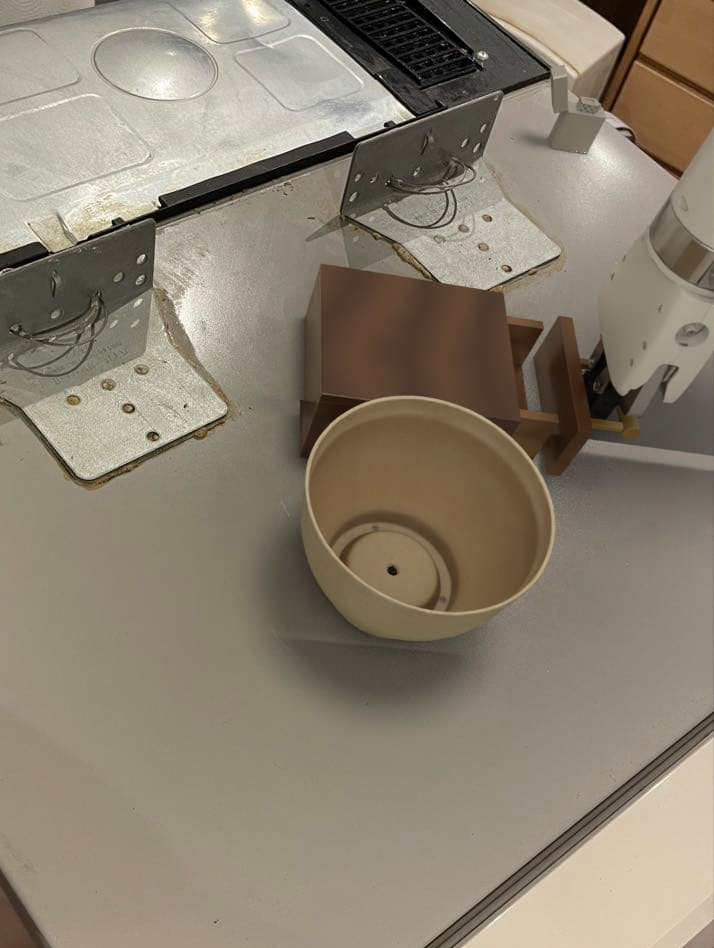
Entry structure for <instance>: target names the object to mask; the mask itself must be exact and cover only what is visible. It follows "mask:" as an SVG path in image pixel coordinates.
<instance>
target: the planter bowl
mask: <svg viewBox="0 0 714 948" xmlns="http://www.w3.org/2000/svg"><path fill="white" fill-rule="evenodd" d="M302 486H303V491H302V498H301V506H300V507H301V508H300V529H301V538H302V542H303V548H304V552H305V556H306V559H307V562H308V565H309V568H310V570H311V572H312V574H313V576H314V578H315V580H316V582H317V585H319V587H320V589H321V591H322V592H323V593H324V595H325V596H326V598H327V599H328V600H329V601H330V602H331V604H332V605H333V607H334V608H335V609H336V611H337V612H338V613H339V614H340V615H341V616H342V617H343V619H345V620H346V621H347V622H349V624H351V625H352V626H354V627H356V628H357V629H358V630H360V631H362V632H363V633H367V634H369V635H371V636H374V637H377V638H382V639H387V640H400V641H408V642H428V641H437V640H442V639H447V638H452V637H455V636H458V635H462V634H465V633H467V632H470V631H471V630H474V629H476V628H478V627H480V626H481V625H483V624H485V623H487V622H489V621H490V620H492V619H493V618H495V617H496V616H497V615H499V614H500V613H502V611H504V610H505V609H506V608H508V606H510V605H512V604H513V603H514V602H516V601H517V600H519V599H520V598H521V597H522V596H524V595H525V594H526V593H527V591H529V590H530V589H531V588H532V587H533V585H534V584H535V583H536V582H538V580H539V578H540V577H541V576H542V574H543V572H544V570H545V569H546V567H547V565H548V563H549V561H550V559H551V556H552V553H553V549H554V545H555V538H556V515H555V508H554V504H553V500H552V497H551V494H550V491H549V489H548V486H547V484H546V481H545V479H544V477H543V476H542V473H541V472H540V470H539V468H538V466H536V464H535V463H534V460H533V461H532V460H531V459H530V457H529V456H528V455H527V453H526V452H525V451H524V450H523V449H522V448H521V447H520V445H519V444H518V443H517V442H516V441H515V440H514V439H513V438H512V437H511V436H509V435H508V434H507V433H506V432H505V431H503V430H502V429H501V428H500V427H498V426H497V425H495V424H494V423H492V422H491V421H489V420H488V419H486V418H485V417H483V416H481V415H479V414H477V413H475V412H473V411H471V410H469V409H467V408H464V407H462V406H459V405H456V404H454V403H450V402H447V401H443V400H439V399H434V398H428V397H422V396H391V397H384V398H379V399H375V400H371V401H368V402H365V403H363V404H360V405H358V406H356V407H354V408H352V409H350V410H348V411H347V412H345V413H343V414H342V415H341V416H339V417H338V418H337V419H335V420H334V421H333V422H332V423H331V424H330V425H329V426H328V427H327V428H326V429H325V430H324V431H323V433H322V434H321V435H320V437H319V438H318V440H317V441H316V443H315V445H314V447H313V449H312V451H311V453H310V456H309V458H307V463H306V466H305V471H304V478H303V485H302ZM391 567H393V568H394V569H395V570H396V574H395V575H394V574H393V575H392V574H390V573H389V572H388V570H389V568H391Z"/></svg>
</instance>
